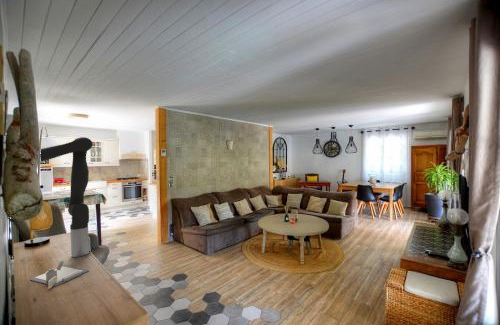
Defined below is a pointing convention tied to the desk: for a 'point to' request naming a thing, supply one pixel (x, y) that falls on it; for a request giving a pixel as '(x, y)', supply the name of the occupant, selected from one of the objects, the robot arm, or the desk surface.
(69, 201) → the robot arm
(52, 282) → the cream rectangular slab
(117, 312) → the desk surface
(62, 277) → the clipboard
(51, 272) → the lighter
